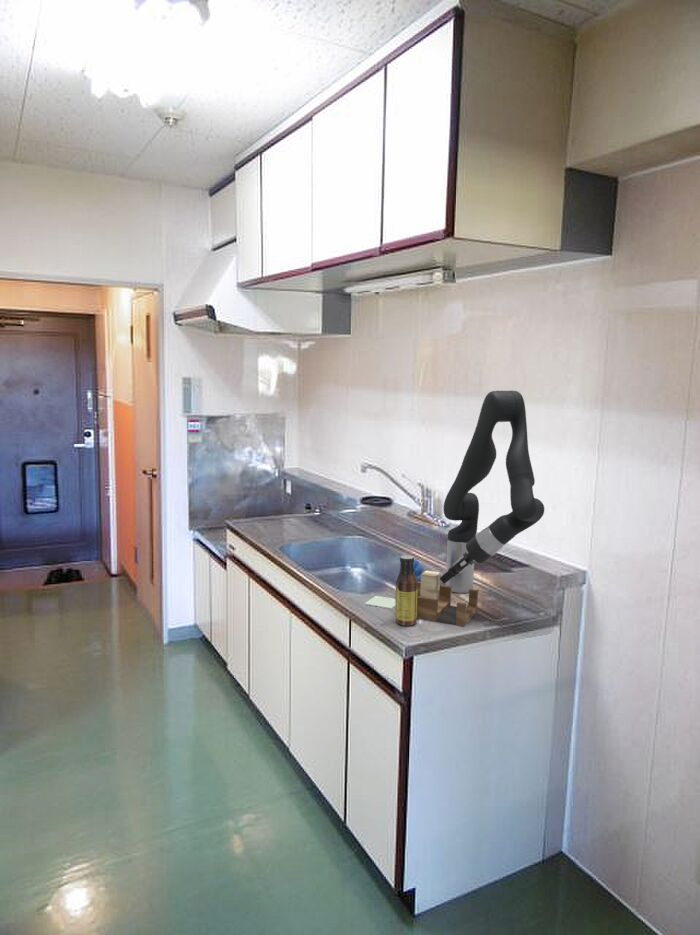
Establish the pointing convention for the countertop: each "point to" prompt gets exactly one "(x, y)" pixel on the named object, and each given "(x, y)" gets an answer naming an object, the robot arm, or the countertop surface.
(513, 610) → the countertop surface
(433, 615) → the wooden holder
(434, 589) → the block
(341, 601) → the countertop surface
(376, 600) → the mat
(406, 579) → the sauce bottle
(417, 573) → the grapes
